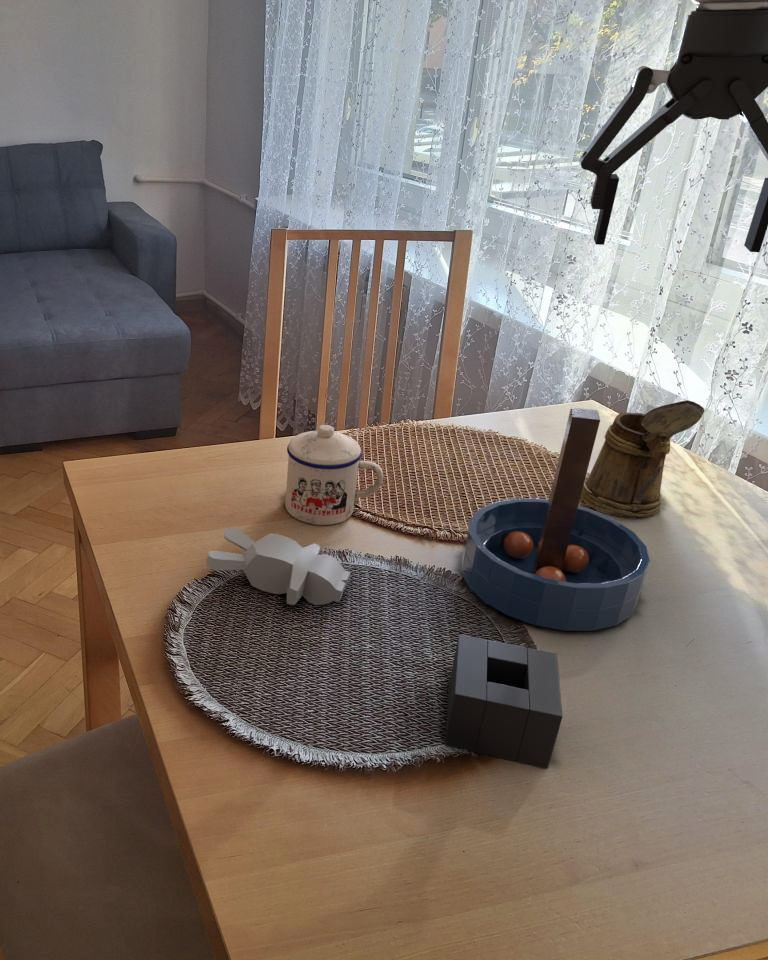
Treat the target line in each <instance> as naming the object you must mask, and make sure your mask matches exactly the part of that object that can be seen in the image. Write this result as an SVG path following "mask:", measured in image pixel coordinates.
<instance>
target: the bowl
mask: <svg viewBox="0 0 768 960" xmlns="http://www.w3.org/2000/svg"><path fill="white" fill-rule="evenodd" d="M548 502H549V499H547V498H546V499H545V498H538V497H537V498H536V497H535V498H532V497H531V498H510V499H504V500H499V501H494V502H492V503H489V504H487V505H485V506H483V507H481V508H479V509H477V511H476V512H475V513H474V514H473V515H472V517H471V518H470V519H469V521H468V527H467V531H466V537H465V542H464V548H463V552H462V559H461V575H462V578H463V579H464V581H465V583H466V586H467V587H468V588H469V589H470V590H471V591H472V592H473V593H474V594H475V595H476V596H477V597H478V598H479V599H480V600H481V601H482V602H484V603H485V604H487V605H488V606H490V607H492V608H493V609H495V610H497V611H499V612H501V613H502V614H504V615H506V616H508V617H511V618H513V619H516V620H519V621H521V622H524V623H527V624H530V625H533V626H538V627H543V628H547V629H554V630H559V631H565V632H566V631H571V632H573V631H576V632H578V631H581V632H583V631H585V632H586V631H587V632H588V631H589V632H592V631H598V630H602V629H608V628H612V627H615V626H618V625H619V624H621V623H622V622H624V621H626V620H627V619H628V618H630V617H631V616H632V615H633V612H634V611H635V608H636V606H637V604H638V601H639V598H640V594H641V593H642V588H643V586H644V582H645V580H646V576H647V572H648V569H649V566H650V563H651V559H650V555H649V552H648V548H647V545H646V544H645V543H644V541H642V540H641V538H640V537H639V536H638V535H637V534H636V533H635V532H634V531H633V530H632V529H630V528H628V527H627V526H625V525H623V524H622V523H621V522H620V521H618V520H616V519H614V518H612V517H610V516H608V515H606V514H604V513H602V512H600V511H597V510H595V509H591V508H588V507H584V506H581V505H578V509H577V513H576V517H575V521H574V524H573V528H572V532H571V536H570V540H569V544H568V545H578V546H581V547H582V548H584V549H585V550H586V551H587V553H588V555H589V564H588V566H587V568H586V569H585V570H583V571H582V572H579V573H569V572H566V571H564V570H563V569H562V572H563V574H564V575H565V578H566V582H564V581H558V580H552V579H546V578H543V577H540V576H537V575H534V574H533V565H534V561H535V557H536V553H537V548H538V544H539V540H540V536H541V532H542V527H543V523H544V519H545V515H546V511H547V506H548ZM514 531H521V532H525V533H526V534H528V535H529V536H530V537H531V538H532V540H533V544H534V548H533V551H532V553H531V554H530V555H529V556H528V557H526V558H523V559H514V558H512V557H510V556H509V555H507V554H506V552H505V551H504V548H503V541H504V539H505V537H506V536H507V535H508V534H509V533H511V532H514Z"/></svg>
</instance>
